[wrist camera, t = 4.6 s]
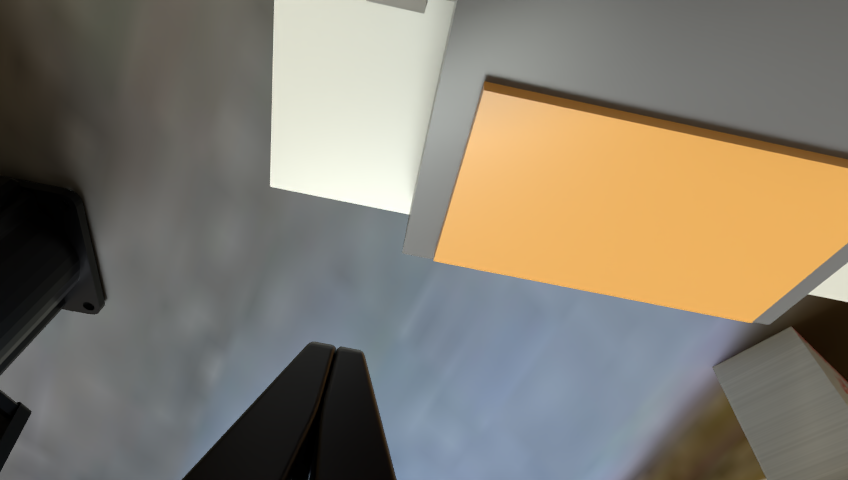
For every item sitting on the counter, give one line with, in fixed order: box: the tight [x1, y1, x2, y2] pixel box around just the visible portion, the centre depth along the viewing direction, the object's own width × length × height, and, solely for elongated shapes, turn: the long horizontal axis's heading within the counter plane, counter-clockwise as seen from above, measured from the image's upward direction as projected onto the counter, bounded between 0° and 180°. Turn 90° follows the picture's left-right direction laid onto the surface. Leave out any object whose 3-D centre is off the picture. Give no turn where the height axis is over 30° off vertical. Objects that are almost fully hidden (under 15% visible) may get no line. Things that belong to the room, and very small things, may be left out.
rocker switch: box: [402, 0, 848, 325], centre depth 9 cm, size 14×10×2 cm
